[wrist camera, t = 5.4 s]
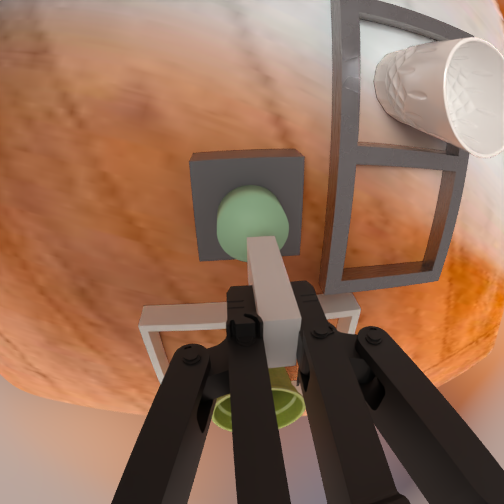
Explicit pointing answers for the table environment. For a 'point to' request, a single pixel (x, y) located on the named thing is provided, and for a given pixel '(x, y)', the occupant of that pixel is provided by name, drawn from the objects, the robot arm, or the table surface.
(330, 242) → the gray divided frame
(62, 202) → the table surface
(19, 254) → the table surface
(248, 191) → the button
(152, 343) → the gray rectangular frame
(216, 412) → the plant pot
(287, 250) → the block
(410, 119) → the white cup
